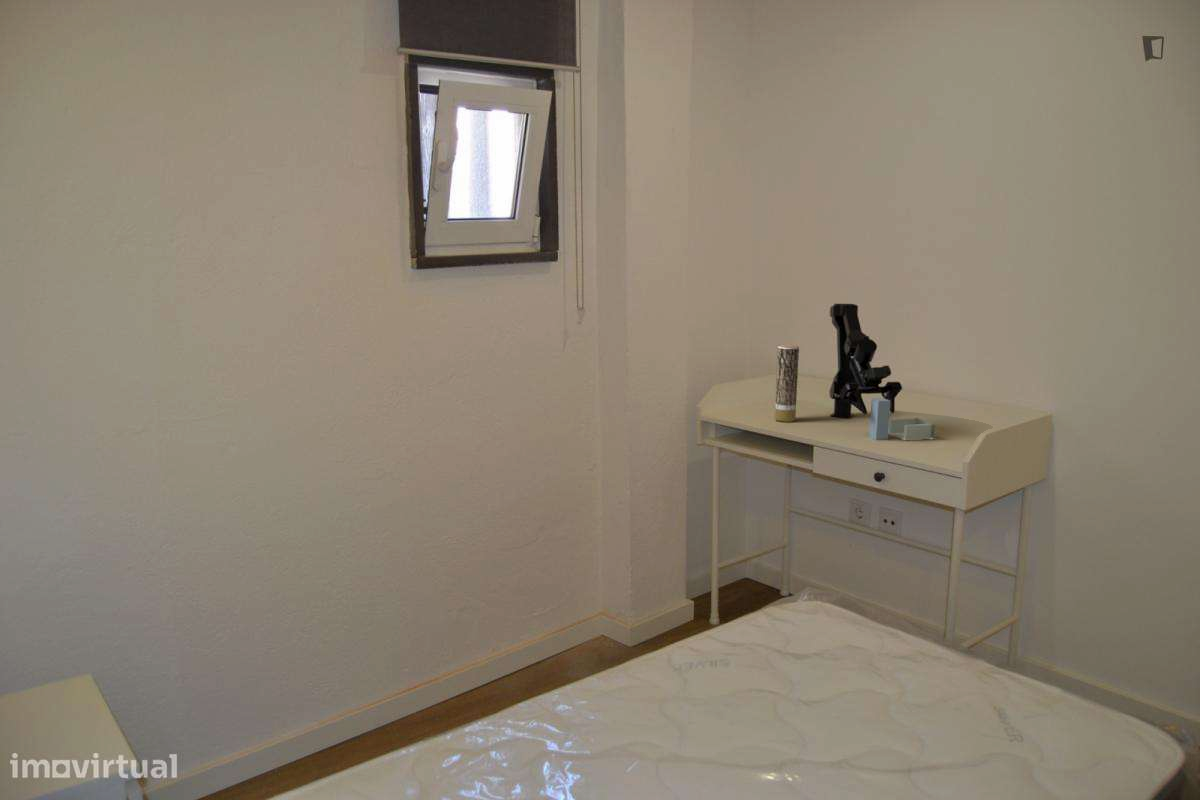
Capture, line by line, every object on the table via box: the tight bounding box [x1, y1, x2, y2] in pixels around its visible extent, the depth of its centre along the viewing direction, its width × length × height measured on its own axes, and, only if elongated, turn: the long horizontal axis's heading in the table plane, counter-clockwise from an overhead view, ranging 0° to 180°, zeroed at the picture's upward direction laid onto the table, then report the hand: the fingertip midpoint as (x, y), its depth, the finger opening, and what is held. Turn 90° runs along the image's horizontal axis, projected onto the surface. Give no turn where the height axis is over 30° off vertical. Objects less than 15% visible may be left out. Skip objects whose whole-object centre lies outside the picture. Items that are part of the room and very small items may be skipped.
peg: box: [868, 397, 891, 441], centre depth 266 cm, size 4×4×12 cm
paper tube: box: [774, 344, 800, 423], centre depth 289 cm, size 7×7×25 cm
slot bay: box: [888, 417, 936, 442], centre depth 269 cm, size 10×9×5 cm
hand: (879, 413), depth 265 cm, fingers open, 9 cm apart
